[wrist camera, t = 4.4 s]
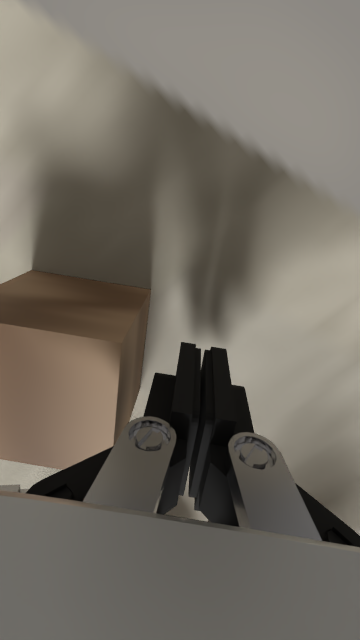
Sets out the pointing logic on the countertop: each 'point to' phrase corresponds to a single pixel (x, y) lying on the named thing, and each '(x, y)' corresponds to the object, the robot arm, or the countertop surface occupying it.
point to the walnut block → (67, 366)
